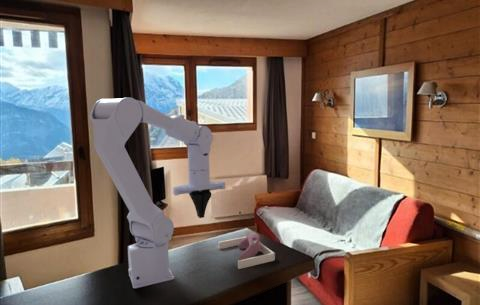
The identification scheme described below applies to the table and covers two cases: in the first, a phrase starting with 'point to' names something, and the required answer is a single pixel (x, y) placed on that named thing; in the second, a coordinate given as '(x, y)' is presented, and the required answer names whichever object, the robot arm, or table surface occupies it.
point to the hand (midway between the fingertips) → (200, 216)
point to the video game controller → (250, 246)
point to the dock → (253, 260)
